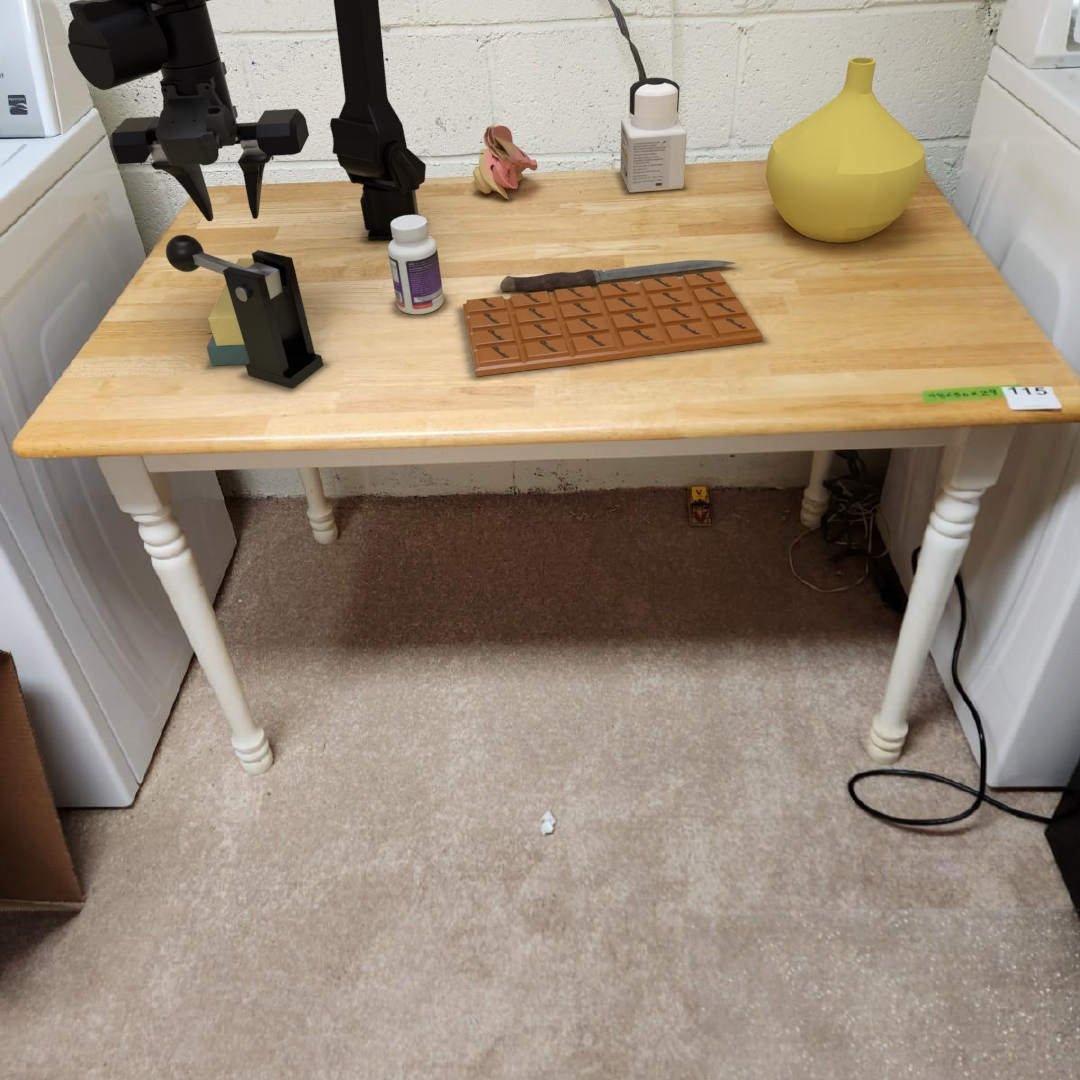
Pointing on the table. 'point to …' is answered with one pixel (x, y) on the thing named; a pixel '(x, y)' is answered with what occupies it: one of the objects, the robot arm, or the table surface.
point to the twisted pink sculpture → (500, 162)
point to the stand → (273, 323)
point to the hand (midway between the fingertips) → (233, 218)
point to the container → (653, 137)
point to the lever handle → (214, 262)
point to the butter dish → (226, 354)
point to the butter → (227, 316)
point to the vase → (845, 165)
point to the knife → (599, 275)
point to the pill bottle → (415, 266)
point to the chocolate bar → (605, 323)
